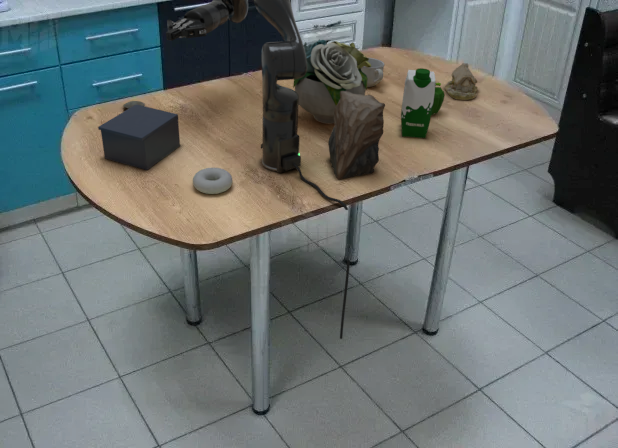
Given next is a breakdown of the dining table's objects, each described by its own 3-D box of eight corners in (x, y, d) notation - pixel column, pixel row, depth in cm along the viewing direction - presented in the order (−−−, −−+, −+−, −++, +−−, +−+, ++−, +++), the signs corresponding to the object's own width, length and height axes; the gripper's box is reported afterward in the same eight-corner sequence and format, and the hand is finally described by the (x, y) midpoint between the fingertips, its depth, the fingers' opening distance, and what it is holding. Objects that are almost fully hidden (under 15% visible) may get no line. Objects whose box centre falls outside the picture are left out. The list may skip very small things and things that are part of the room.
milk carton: (398, 137, 197) (407, 72, 186) (398, 124, 205) (406, 61, 193) (428, 140, 197) (439, 75, 185) (427, 127, 204) (437, 63, 193)
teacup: (346, 79, 234) (348, 57, 229) (375, 76, 237) (377, 54, 232) (360, 94, 223) (362, 71, 218) (390, 92, 226) (393, 69, 221)
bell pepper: (412, 115, 211) (416, 85, 205) (417, 105, 217) (421, 76, 212) (438, 119, 209) (443, 89, 203) (443, 109, 215) (448, 80, 210)
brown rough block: (326, 157, 185) (330, 88, 174) (370, 154, 187) (377, 87, 176) (335, 179, 175) (341, 108, 164) (382, 177, 177) (390, 107, 166)
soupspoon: (143, 105, 210) (122, 108, 208) (141, 95, 208) (120, 98, 206) (159, 132, 193) (136, 136, 191) (157, 121, 191) (134, 125, 189)
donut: (231, 197, 166) (234, 176, 174) (231, 185, 164) (233, 165, 172) (190, 196, 165) (195, 175, 173) (189, 184, 163) (194, 164, 171)
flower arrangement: (324, 144, 192) (329, 61, 178) (271, 113, 207) (272, 35, 194) (385, 123, 205) (394, 45, 192) (332, 95, 221) (337, 21, 207)
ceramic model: (442, 83, 234) (447, 55, 228) (474, 85, 234) (480, 57, 228) (448, 99, 222) (452, 70, 217) (481, 101, 222) (487, 72, 217)
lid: (142, 141, 169) (141, 138, 169) (98, 129, 174) (97, 126, 173) (178, 116, 182) (177, 114, 182) (136, 106, 186) (136, 104, 186)
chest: (147, 170, 175) (144, 139, 170) (104, 158, 179) (100, 128, 174) (180, 146, 187) (178, 117, 182) (139, 135, 191) (136, 107, 186)
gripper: (182, 3, 194) (146, 18, 180) (222, 10, 189) (189, 26, 176) (183, 29, 198) (149, 46, 184) (223, 36, 193) (190, 54, 180)
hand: (168, 36), depth 180 cm, fingers closed
